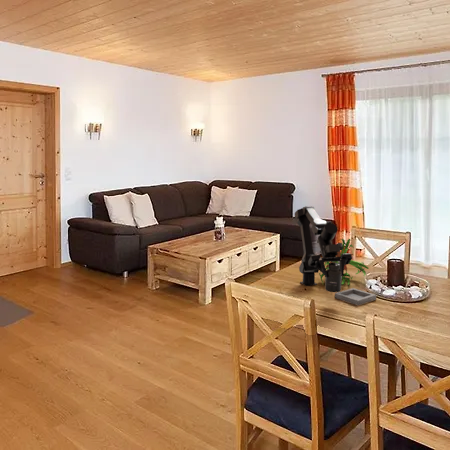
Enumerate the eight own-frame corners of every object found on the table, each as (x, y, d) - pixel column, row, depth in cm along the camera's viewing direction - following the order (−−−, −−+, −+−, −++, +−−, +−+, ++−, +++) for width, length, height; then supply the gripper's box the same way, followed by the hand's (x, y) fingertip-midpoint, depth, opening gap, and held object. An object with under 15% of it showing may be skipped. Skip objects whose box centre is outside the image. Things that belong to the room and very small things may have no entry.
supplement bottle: (329, 293, 193) (330, 266, 191) (322, 288, 200) (323, 262, 198) (344, 291, 195) (345, 265, 193) (336, 287, 201) (337, 261, 199)
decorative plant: (352, 282, 250) (369, 297, 220) (308, 273, 249) (319, 288, 219) (362, 236, 247) (382, 246, 217) (318, 228, 246) (331, 236, 216)
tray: (334, 297, 207) (334, 293, 207) (352, 292, 215) (353, 288, 214) (357, 305, 197) (358, 300, 197) (376, 299, 204) (376, 294, 204)
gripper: (311, 237, 196) (319, 268, 187) (351, 235, 199) (361, 266, 190) (304, 250, 205) (312, 281, 196) (343, 248, 208) (352, 278, 199)
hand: (334, 276), depth 195 cm, fingers closed on supplement bottle, 7 cm apart
